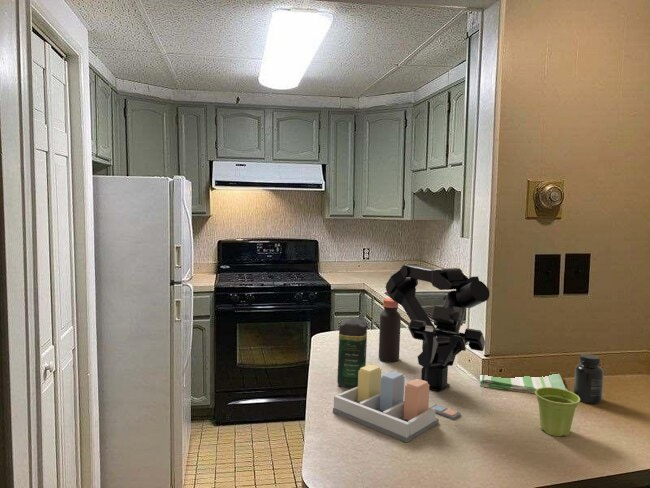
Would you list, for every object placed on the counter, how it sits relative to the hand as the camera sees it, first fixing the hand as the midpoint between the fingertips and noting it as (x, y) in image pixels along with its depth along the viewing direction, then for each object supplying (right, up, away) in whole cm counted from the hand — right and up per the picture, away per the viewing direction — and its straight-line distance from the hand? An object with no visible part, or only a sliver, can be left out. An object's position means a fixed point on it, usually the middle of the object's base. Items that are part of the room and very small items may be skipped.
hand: (436, 363), depth 121 cm
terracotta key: (-6, -12, -5) cm, 14 cm away
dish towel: (+30, -12, +24) cm, 41 cm away
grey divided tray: (-13, -12, -2) cm, 18 cm away
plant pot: (+26, -14, -7) cm, 30 cm away
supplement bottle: (+44, -13, +12) cm, 47 cm away
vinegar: (-6, -9, +42) cm, 43 cm away
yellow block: (-16, -11, +5) cm, 20 cm away
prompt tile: (+2, -13, +1) cm, 13 cm away
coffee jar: (-20, -11, +20) cm, 30 cm away
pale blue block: (-11, -11, 0) cm, 16 cm away
